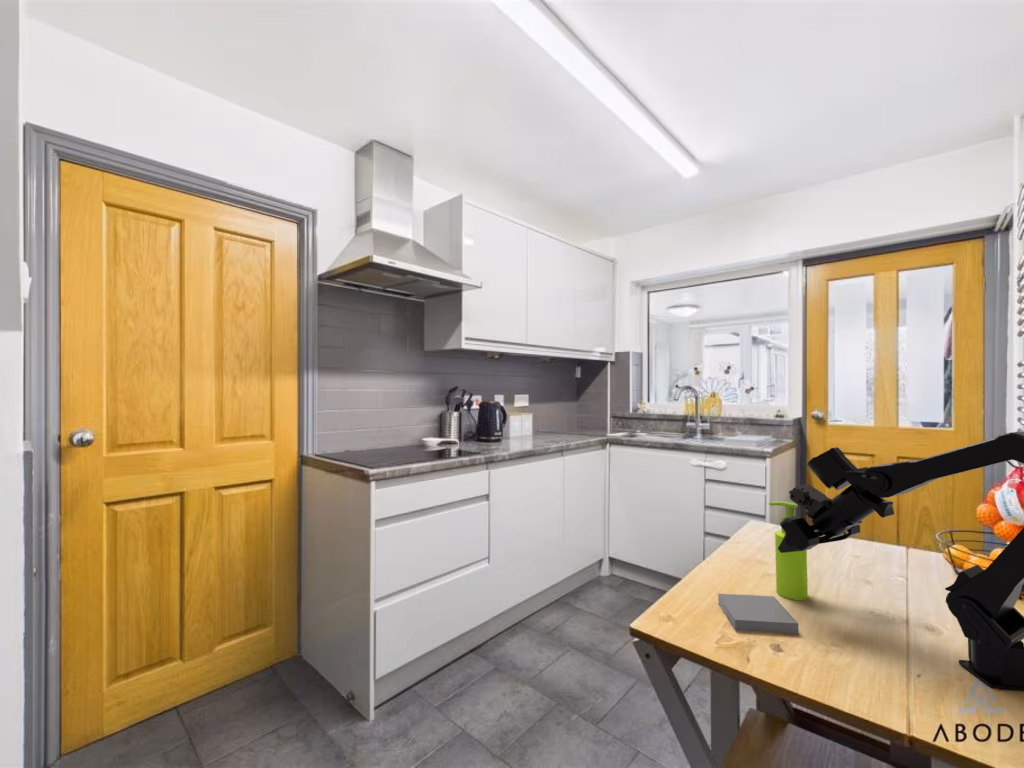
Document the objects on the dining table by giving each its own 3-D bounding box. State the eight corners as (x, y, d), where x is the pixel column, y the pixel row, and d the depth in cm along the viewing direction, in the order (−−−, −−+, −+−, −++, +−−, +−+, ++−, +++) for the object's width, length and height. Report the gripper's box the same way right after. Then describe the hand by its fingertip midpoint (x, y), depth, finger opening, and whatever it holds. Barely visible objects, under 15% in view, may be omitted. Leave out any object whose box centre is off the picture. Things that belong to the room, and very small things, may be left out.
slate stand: (798, 634, 84) (798, 623, 84) (735, 630, 86) (734, 619, 86) (774, 605, 95) (774, 596, 95) (718, 603, 97) (718, 593, 97)
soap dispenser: (773, 584, 105) (771, 497, 106) (809, 592, 101) (807, 502, 101) (768, 594, 101) (766, 503, 101) (805, 602, 96) (803, 507, 97)
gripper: (843, 470, 99) (793, 508, 109) (788, 479, 91) (740, 520, 101) (886, 515, 92) (829, 552, 102) (831, 529, 84) (775, 568, 94)
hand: (793, 546), depth 100 cm, fingers open, 9 cm apart
